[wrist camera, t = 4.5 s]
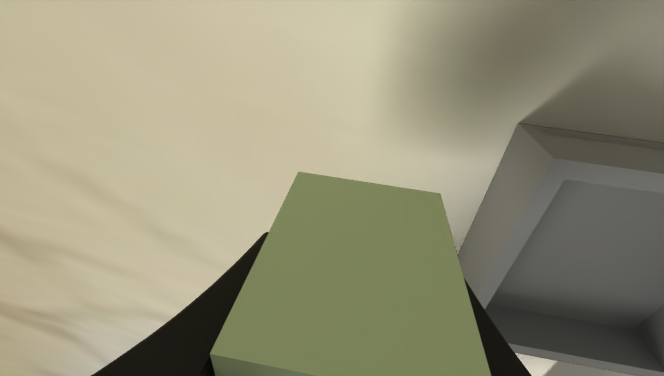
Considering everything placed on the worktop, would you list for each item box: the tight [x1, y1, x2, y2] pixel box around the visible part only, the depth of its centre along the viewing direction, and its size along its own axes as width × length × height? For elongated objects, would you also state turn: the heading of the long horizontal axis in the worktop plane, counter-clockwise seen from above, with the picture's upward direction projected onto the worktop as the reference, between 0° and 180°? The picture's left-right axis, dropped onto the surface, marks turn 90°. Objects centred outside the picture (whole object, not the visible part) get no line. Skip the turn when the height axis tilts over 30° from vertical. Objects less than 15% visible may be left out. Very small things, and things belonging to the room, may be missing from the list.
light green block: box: [210, 172, 491, 376], centre depth 8 cm, size 5×5×6 cm
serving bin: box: [458, 124, 664, 376], centre depth 15 cm, size 12×12×4 cm
